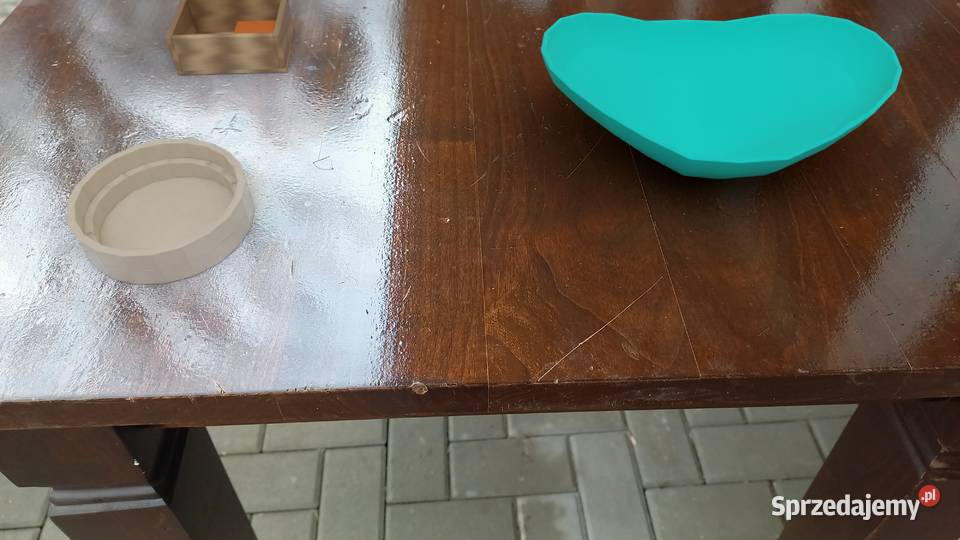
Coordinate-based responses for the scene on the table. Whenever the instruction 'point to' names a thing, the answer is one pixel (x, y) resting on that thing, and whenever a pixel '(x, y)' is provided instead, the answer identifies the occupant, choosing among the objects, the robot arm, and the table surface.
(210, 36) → the holder
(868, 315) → the table surface
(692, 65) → the table top decor
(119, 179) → the bowl
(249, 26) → the orange rectangular block
